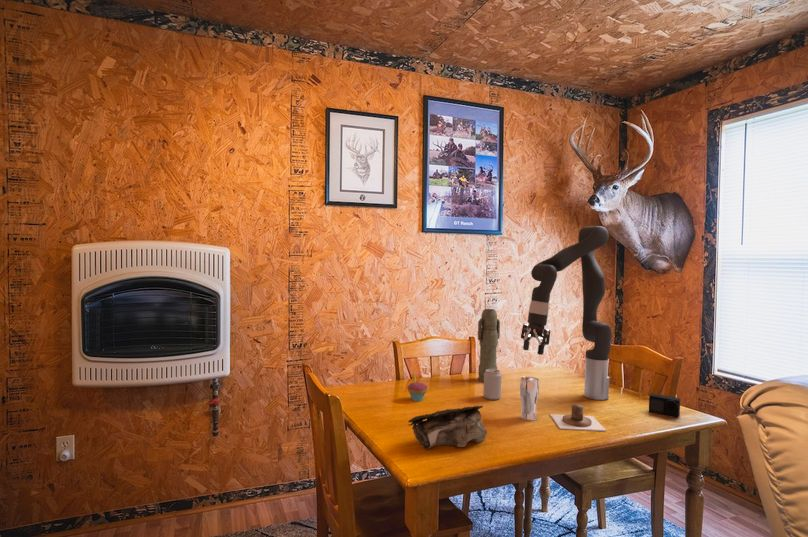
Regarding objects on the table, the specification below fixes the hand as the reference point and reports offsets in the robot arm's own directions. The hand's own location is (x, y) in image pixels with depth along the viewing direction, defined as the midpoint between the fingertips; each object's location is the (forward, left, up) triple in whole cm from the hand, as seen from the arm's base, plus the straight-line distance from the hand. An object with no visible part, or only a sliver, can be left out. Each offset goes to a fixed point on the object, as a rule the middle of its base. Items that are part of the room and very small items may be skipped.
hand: (532, 352), depth 185 cm
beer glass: (+4, +13, -23) cm, 27 cm away
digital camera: (-51, +1, -23) cm, 56 cm away
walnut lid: (-13, +16, -22) cm, 31 cm away
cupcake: (+47, -3, -23) cm, 52 cm away
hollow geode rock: (+35, +41, -23) cm, 58 cm away
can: (+15, -10, -23) cm, 29 cm away
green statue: (+14, -38, -23) cm, 46 cm away
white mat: (-13, +16, -22) cm, 31 cm away
